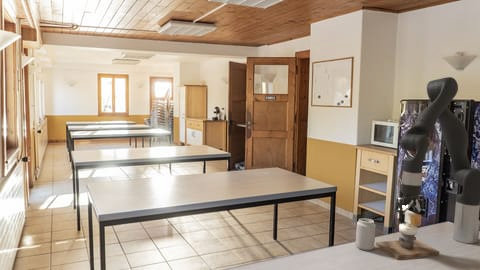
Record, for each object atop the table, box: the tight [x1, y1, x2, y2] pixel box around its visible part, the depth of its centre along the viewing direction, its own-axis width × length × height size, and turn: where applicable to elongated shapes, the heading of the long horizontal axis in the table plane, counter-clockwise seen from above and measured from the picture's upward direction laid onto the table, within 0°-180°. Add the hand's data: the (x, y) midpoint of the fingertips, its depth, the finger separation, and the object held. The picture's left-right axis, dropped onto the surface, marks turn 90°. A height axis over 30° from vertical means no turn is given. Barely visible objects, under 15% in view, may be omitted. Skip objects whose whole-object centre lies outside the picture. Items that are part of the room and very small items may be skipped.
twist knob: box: [397, 209, 422, 236], centre depth 157 cm, size 10×7×9 cm
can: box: [355, 217, 377, 251], centre depth 159 cm, size 8×8×12 cm
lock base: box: [375, 233, 440, 260], centre depth 157 cm, size 20×14×8 cm
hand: (408, 221), depth 157 cm, fingers open, 8 cm apart
